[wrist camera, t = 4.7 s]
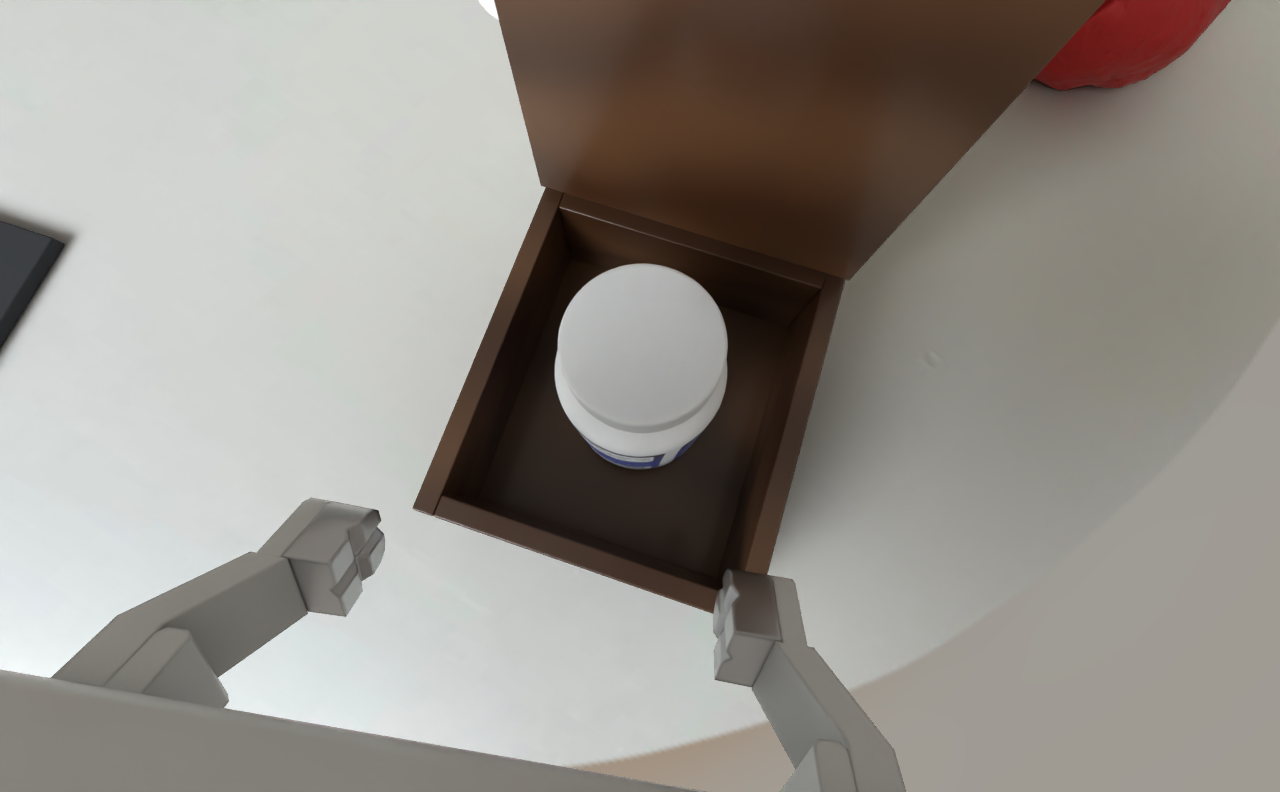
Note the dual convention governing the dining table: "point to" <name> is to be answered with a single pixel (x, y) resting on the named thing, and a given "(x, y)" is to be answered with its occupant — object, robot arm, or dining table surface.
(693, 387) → the pill bottle
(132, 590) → the dining table surface
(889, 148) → the chest lid
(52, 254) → the mat
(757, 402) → the chest
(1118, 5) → the red crowned fruit
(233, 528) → the dining table surface
